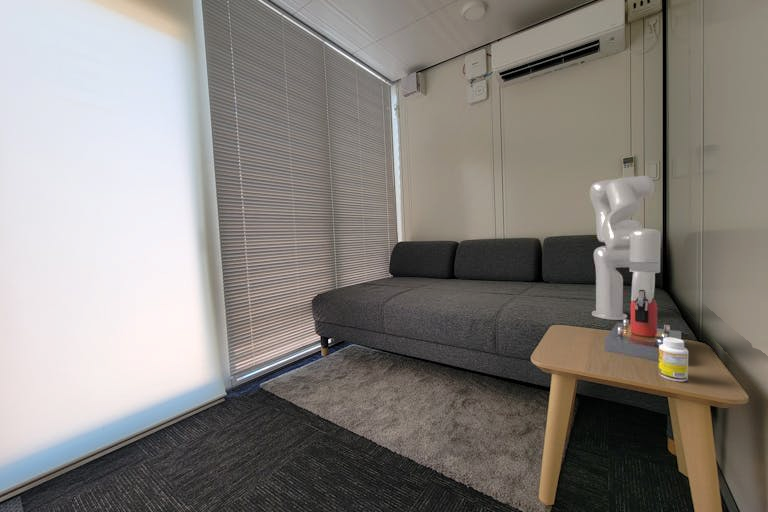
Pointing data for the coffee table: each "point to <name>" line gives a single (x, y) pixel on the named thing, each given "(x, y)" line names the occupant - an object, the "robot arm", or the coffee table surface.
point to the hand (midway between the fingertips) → (643, 318)
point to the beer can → (645, 328)
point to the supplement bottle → (673, 359)
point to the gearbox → (637, 341)
